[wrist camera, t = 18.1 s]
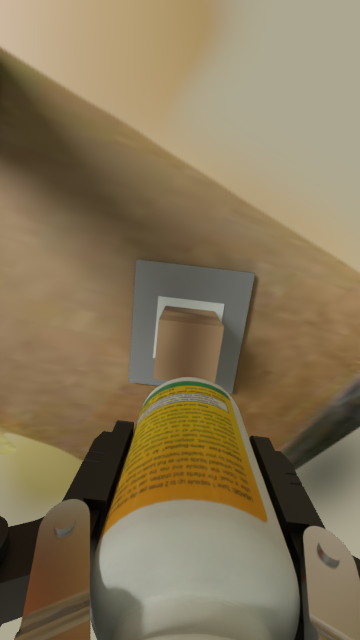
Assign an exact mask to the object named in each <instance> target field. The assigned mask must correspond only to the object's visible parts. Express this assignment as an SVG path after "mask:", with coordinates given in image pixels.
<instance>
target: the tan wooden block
mask: <svg viewBox="0 0 360 640" xmlns="http://www.w3.org/2000/svg"><path fill="white" fill-rule="evenodd" d="M223 331H224V326H223V324H222V323H221V321H220V319H219V318H218V316H217V314H216V313H215V311H208V310H199V309H191V308H182V307H174V306H165V308H164V310H163V312H162V314H161V316H160V318H159V323H158V333H157V344H156V355H155V366H154V376H153V379H160V380H169V381H170V380H173V379H177V378H182V377H193V378H199V379H204V380H207V381H210V382H212V383H214V384H215V379H216V373H217V367H218V361H219V355H220V349H221V343H222V337H223Z"/></svg>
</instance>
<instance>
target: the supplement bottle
mask: <svg viewBox="0 0 360 640" xmlns="http://www.w3.org/2000/svg"><path fill="white" fill-rule="evenodd" d="M299 615H300V595H299V586H298V581H297V576H296V572H295V569H294V565H293V562H292V559H291V556H290V553H289V550H288V548H287V545H286V542H285V539H284V536H283V533H282V530H281V527H280V525H279V522H278V519H277V516H276V513H275V510H274V508H273V505H272V502H271V499H270V497H269V494H268V491H267V488H266V485H265V482H264V480H263V477H262V474H261V472H260V469H259V466H258V463H257V460H256V458H255V455H254V452H253V449H252V446H251V443H250V440H249V437H248V434H247V431H246V428H245V425H244V422H243V420H242V417H241V414H240V412H239V409H238V407H237V405H236V403H235V401H234V400H233V398H232V397H231V396H230V395H229V394H228V393H227V392H226V391H225V390H224V389H223V388H222V387H220V386H219V385H217V384H214V383H212V382H210V381H207V380H204V379H199V378H193V377H182V378H177V379H173V380H170V381H167V382H165V383H163V384H162V385H160V386H159V387H157V388H156V389H154V390H153V391H152V392H151V393H150V395H149V396H148V397H147V399H146V401H145V402H144V404H143V407H142V409H141V412H140V415H139V418H138V421H137V424H136V427H135V430H134V433H133V436H132V440H131V443H130V446H129V449H128V452H127V455H126V458H125V461H124V464H123V467H122V470H121V473H120V476H119V479H118V482H117V485H116V488H115V491H114V495H113V498H112V501H111V504H110V507H109V510H108V513H107V517H106V520H105V523H104V526H103V529H102V532H101V535H100V538H99V541H98V544H97V547H96V550H95V554H94V558H93V562H92V565H91V570H90V620H91V623H92V627H93V630H94V633H95V635H96V638H97V640H294V638H295V636H296V632H297V628H298V623H299Z"/></svg>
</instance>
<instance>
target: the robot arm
mask: <svg viewBox="0 0 360 640" xmlns="http://www.w3.org/2000/svg"><path fill="white" fill-rule="evenodd" d="M133 430H134V422H128V421H120V420H118V421H117V422H116V425H115V427H114V429H113V431H112V432H106V431H103V432H102V433H101V434H100V435H99V436H98V437H97V438H96V439H94V441H93V443H92V445H91V447H90V449H89V452H88V453H87V455H86V457H85V459H84V461H83V462H82V464H81V466H80V468H79V470H78V472H77V474H76V476H75V478H74V480H73V482H72V484H71V486H70V488H69V490H68V491H67V493H66V495H65V497H64V499H63V500H62V502H61V503H59V504H57V505H56V506H54V507H53V508H52V509H51V510H50V511H49V512H48V513H47V514H46V515H45V516H44V517H43V518H40V519H38V520H35V521H32V522H28V523H23V524H20V525H15V526H11V527H8V523H7V521H6V520H5V519H4V518H3V517H1V516H0V627H1V625H2V624H3V623H6V622H9V621H12V620H15V619H18V618H20V617H22V622H21V626H20V629H19V632H17V634H16V636H15V638H14V640H90V570H91V565H92V562H93V558H94V554H95V550H96V547H97V544H98V541H99V538H100V535H101V532H102V529H103V526H104V523H105V520H106V517H107V513H108V510H109V507H110V504H111V501H112V498H113V495H114V491H115V488H116V485H117V482H118V479H119V476H120V473H121V470H122V467H123V464H124V461H125V458H126V455H127V452H128V449H129V446H130V443H131V440H132V436H133ZM249 440H250V443H251V446H252V449H253V452H254V455H255V458H256V460H257V463H258V466H259V469H260V472H261V474H262V477H263V480H264V482H265V485H266V488H267V491H268V494H269V497H270V499H271V502H272V505H273V508H274V510H275V513H276V516H277V519H278V522H279V525H280V527H281V530H282V533H283V536H284V539H285V542H286V545H287V548H288V550H289V553H290V556H291V559H292V562H293V565H294V569H295V572H296V576H297V581H298V586H299V595H300V615H299V623H298V628H297V632H296V636H295V638H294V640H360V559H358V558H356V557H354V556H352V555H351V553H350V551H349V550H348V549H347V547H346V546H345V545H344V544H343V542H342V541H341V540H340V539H339V538H338V537H336V536H335V535H334V534H333V533H331V532H330V531H328V530H326V529H325V527H324V525H323V523H322V521H321V519H320V518H319V516H318V514H317V512H316V510H315V508H314V506H313V504H312V502H311V500H310V498H309V497H308V495H307V493H306V491H305V489H304V487H303V486H302V483H301V481H300V479H299V478H298V476H297V475H296V472H295V470H294V468H293V466H292V464H291V462H290V461H289V460H288V459H287V458H286V457H285V456H284V455H283V454H282V453H281V452H279V451H275V450H274V448H273V446H272V444H271V442H270V440H269V438H267V437H258V436H251V437H250V439H249Z"/></svg>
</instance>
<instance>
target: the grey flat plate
mask: <svg viewBox="0 0 360 640" xmlns="http://www.w3.org/2000/svg"><path fill="white" fill-rule="evenodd" d="M254 277H255V273H250V272H241V271H233V270H224V269H215V268H207V267H198V266H189V265H181V264H172V263H163V262H155V261H146V260H137V259H136V268H135V284H134V301H133V317H132V333H131V350H130V366H129V382H131V383H140V384H149V385H157V386H160V385H162V384H163V383H165V382H167V381H169V380H160V379H153V376H154V366H155V355H156V344H157V333H158V323H159V318H160V316H161V314H162V312H163V310H164V308H165V306H174V307H182V308H191V309H199V310H208V311H215V313H216V314H217V316H218V318H219V319H220V321H221V323H222V324H223V326H224V331H223V337H222V343H221V349H220V355H219V361H218V367H217V373H216V379H215V384H217V385H219V386H220V387H222V388H223V389H224V390H225V391H226V392H227V393H228V394H232V392H233V387H234V382H235V376H236V371H237V366H238V361H239V355H240V350H241V345H242V340H243V334H244V329H245V324H246V319H247V313H248V308H249V303H250V298H251V292H252V287H253V282H254Z"/></svg>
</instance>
